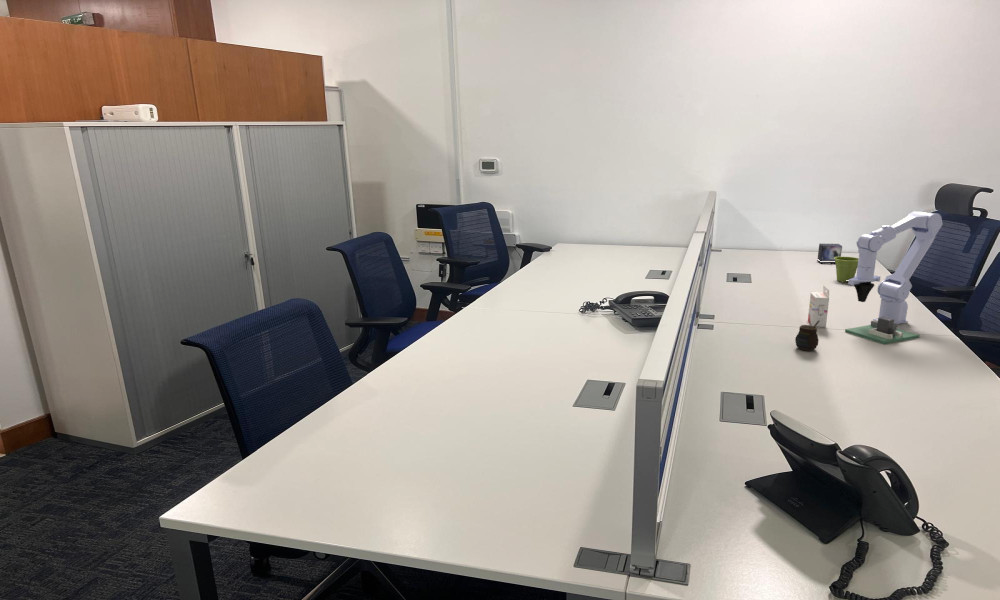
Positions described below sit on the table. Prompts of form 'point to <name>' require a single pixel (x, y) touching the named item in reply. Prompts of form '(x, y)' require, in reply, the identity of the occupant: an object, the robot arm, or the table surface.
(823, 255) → the small box
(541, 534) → the table surface
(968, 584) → the table surface
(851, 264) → the plant pot
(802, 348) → the mate gourd
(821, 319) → the ink cartridge box
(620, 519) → the table surface
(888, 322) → the plug
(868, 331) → the board
